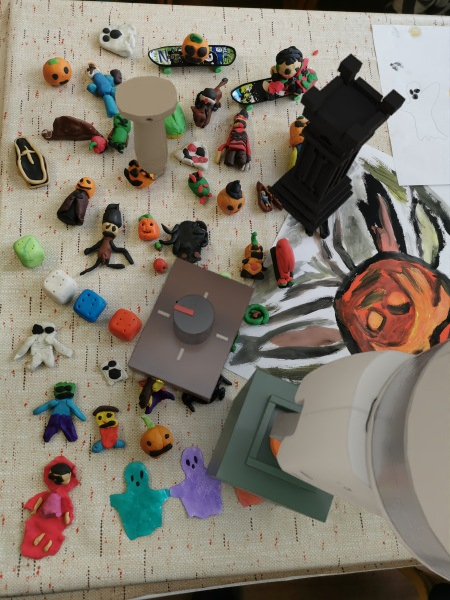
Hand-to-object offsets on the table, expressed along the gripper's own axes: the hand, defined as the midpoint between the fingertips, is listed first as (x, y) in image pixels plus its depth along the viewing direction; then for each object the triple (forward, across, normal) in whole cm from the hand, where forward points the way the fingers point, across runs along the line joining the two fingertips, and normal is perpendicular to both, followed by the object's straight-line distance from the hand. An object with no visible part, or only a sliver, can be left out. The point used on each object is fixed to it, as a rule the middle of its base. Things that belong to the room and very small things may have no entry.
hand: (339, 467), depth 34 cm
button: (+8, +2, -1) cm, 9 cm away
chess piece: (+30, +7, -35) cm, 47 cm away
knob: (+27, +14, -12) cm, 33 cm away
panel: (+30, +14, -12) cm, 35 cm away
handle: (+30, +27, -30) cm, 50 cm away
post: (+30, +2, -2) cm, 31 cm away
